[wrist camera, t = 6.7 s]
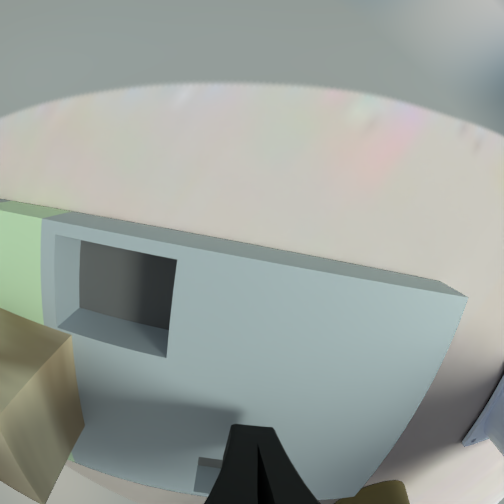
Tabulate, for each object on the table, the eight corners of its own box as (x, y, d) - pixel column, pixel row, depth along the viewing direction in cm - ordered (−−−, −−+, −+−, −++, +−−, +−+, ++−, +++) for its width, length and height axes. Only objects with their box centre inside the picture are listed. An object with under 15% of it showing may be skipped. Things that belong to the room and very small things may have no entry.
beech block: (71, 335, 8) (-5, 419, 4) (84, 425, 9) (44, 505, 5) (-16, 300, 8) (-91, 349, 4) (4, 389, 9) (-45, 446, 4)
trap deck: (439, 281, 11) (512, 324, 6) (345, 471, 13) (365, 530, 9) (-3, 198, 9) (-79, 212, 5) (24, 410, 12) (-11, 457, 7)
